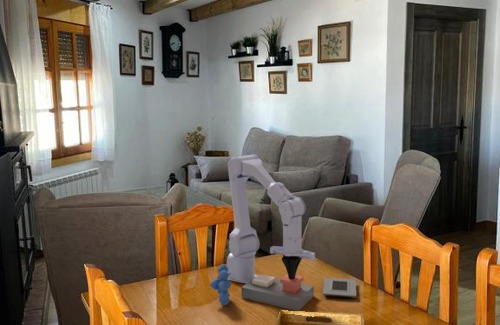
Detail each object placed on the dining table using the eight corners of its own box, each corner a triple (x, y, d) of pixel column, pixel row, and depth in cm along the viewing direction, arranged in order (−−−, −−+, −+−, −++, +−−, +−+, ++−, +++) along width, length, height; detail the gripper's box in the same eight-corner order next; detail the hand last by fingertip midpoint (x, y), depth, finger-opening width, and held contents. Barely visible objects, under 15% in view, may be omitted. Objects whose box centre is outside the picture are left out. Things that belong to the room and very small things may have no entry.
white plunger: (252, 295, 162) (252, 279, 161) (260, 288, 167) (260, 274, 166) (267, 298, 159) (267, 283, 159) (275, 292, 164) (275, 277, 163)
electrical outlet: (356, 301, 158) (356, 294, 157) (322, 299, 160) (322, 292, 159) (355, 285, 170) (355, 279, 170) (324, 283, 172) (324, 276, 172)
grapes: (210, 295, 163) (209, 259, 161) (230, 293, 163) (230, 259, 161) (210, 310, 151) (209, 273, 149) (232, 309, 152) (232, 272, 150)
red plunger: (280, 295, 157) (280, 279, 156) (287, 288, 162) (287, 273, 161) (296, 298, 154) (296, 282, 153) (303, 292, 159) (303, 276, 158)
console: (241, 297, 160) (241, 287, 160) (259, 284, 171) (259, 274, 170) (298, 310, 151) (298, 300, 150) (313, 296, 161) (313, 285, 161)
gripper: (265, 236, 155) (265, 278, 157) (308, 243, 148) (308, 286, 150) (275, 230, 161) (275, 270, 163) (317, 237, 154) (317, 279, 156)
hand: (291, 278), depth 157 cm, fingers closed, pressing on red plunger
